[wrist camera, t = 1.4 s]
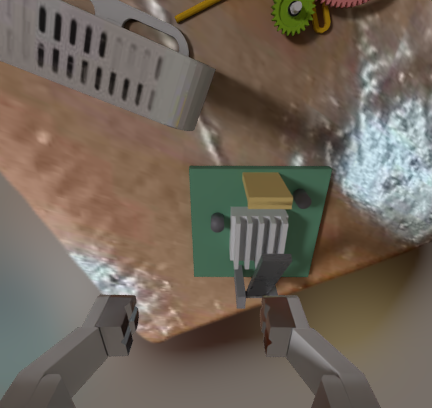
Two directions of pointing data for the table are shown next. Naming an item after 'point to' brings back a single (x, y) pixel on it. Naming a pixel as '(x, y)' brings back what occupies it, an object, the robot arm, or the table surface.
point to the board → (233, 193)
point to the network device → (106, 57)
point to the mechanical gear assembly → (288, 13)
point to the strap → (267, 274)
